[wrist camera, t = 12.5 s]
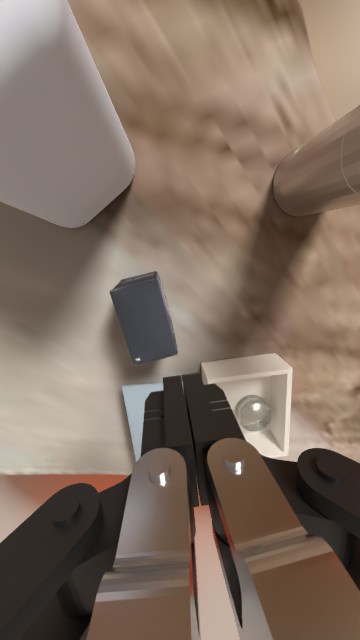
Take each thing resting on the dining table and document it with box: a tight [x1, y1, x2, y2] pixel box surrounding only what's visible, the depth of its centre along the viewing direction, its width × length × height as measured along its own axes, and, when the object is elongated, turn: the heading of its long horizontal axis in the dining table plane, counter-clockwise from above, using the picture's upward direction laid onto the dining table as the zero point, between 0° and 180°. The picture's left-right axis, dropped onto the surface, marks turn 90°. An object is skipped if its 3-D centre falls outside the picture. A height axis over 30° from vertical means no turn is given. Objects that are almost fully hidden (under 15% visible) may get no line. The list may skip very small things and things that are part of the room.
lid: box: [122, 380, 203, 462], centre depth 41 cm, size 13×18×1 cm
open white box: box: [201, 353, 293, 458], centre depth 44 cm, size 14×18×6 cm
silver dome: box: [235, 395, 272, 432], centre depth 46 cm, size 6×6×3 cm
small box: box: [110, 272, 178, 366], centre depth 35 cm, size 11×6×10 cm, turn 14°
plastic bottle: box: [0, 0, 135, 228], centre depth 20 cm, size 15×15×28 cm
